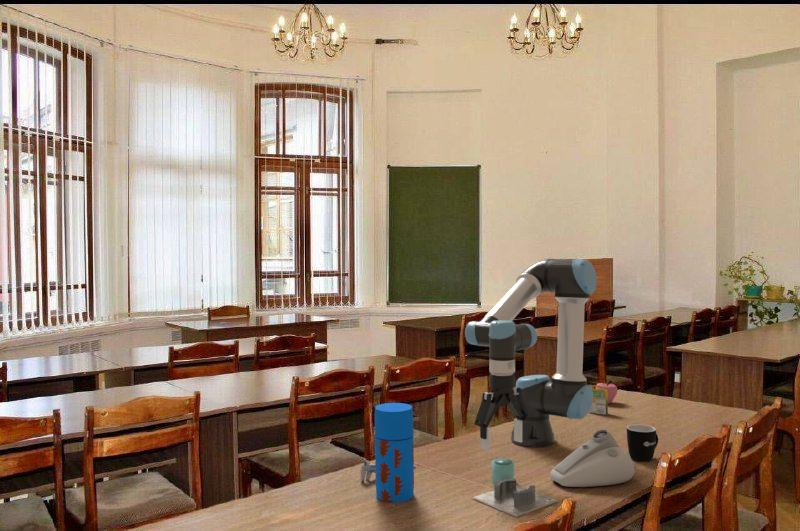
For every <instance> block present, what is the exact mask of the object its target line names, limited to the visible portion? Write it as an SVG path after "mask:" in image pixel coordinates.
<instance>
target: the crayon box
mask: <svg viewBox="0 0 800 531" xmlns="http://www.w3.org/2000/svg"><path fill="white" fill-rule="evenodd" d="M587 385H588V386H590V387H591V388H592V392H593V401H592V406H591V408H590V411H589V412H588V414H597V415H608V412H609V410H608V409H609V408H608V407H609V404H608V390H606V386H596V385H597V384H596V385H593V384H587ZM596 387H599V388H601V389H596Z"/></svg>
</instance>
